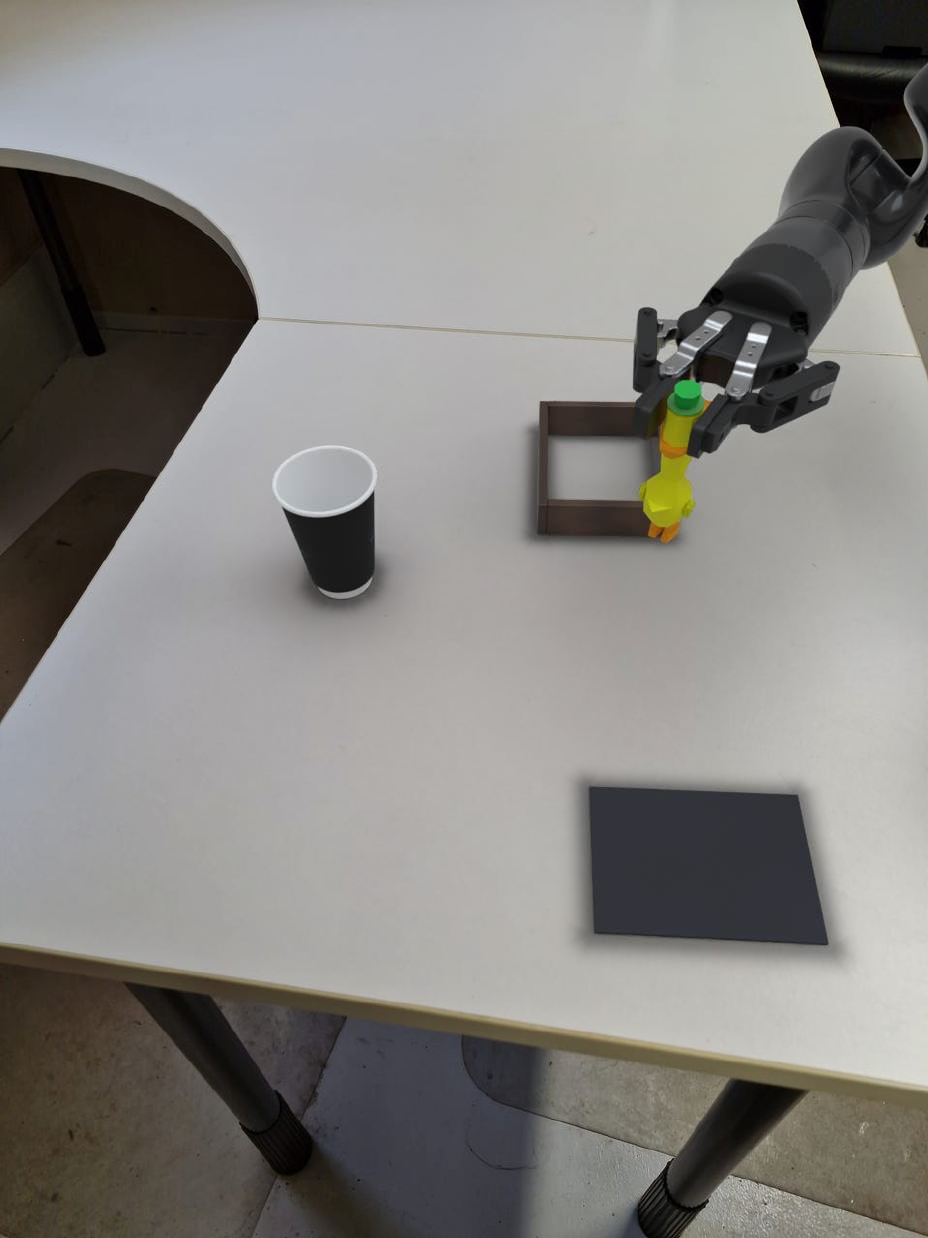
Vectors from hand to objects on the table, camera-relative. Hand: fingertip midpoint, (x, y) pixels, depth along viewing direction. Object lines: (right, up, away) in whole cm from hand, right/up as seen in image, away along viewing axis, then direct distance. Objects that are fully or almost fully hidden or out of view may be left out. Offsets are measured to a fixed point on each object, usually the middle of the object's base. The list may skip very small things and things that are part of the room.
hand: (667, 434), depth 49 cm
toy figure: (+2, -5, +9) cm, 11 cm away
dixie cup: (-22, -7, +23) cm, 33 cm away
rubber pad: (+4, -26, +6) cm, 27 cm away
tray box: (+1, +2, +30) cm, 30 cm away
